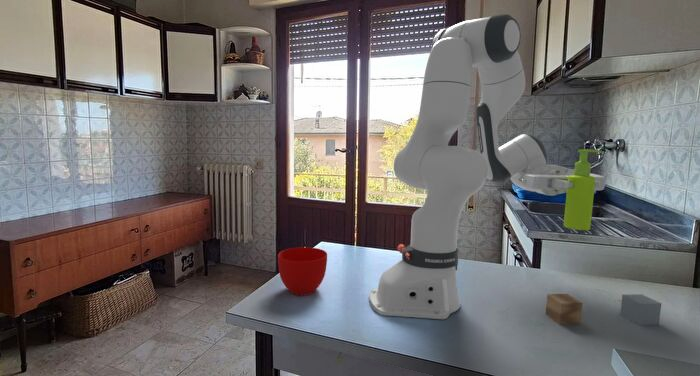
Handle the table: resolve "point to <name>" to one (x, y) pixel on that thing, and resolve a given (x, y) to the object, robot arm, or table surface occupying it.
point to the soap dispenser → (580, 194)
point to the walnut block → (564, 309)
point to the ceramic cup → (302, 269)
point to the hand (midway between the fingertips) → (584, 185)
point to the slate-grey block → (640, 309)
